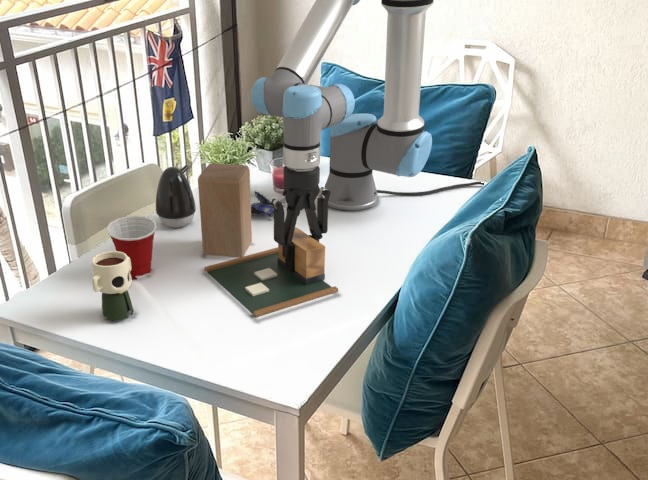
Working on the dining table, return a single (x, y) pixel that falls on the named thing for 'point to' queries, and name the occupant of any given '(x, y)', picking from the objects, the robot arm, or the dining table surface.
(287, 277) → the chalkboard
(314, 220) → the robot arm
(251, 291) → the chalk flake
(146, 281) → the dining table surface
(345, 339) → the dining table surface
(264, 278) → the chalk flake
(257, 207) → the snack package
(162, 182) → the black egg-shaped piece
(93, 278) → the character mug
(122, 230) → the plastic cup
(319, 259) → the eraser
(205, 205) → the block
